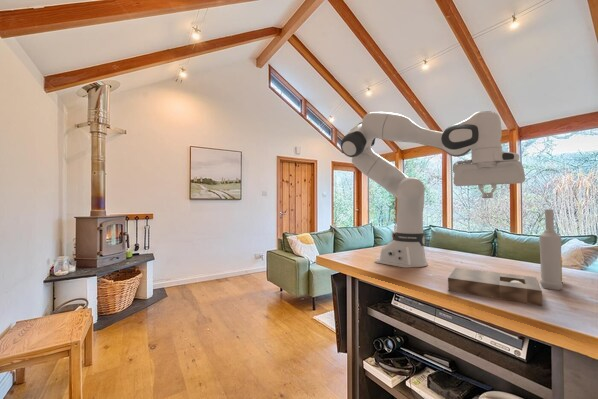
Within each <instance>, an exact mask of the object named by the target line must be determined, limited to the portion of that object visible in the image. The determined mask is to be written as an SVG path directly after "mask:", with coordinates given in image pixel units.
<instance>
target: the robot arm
mask: <svg viewBox="0 0 598 399" xmlns="http://www.w3.org/2000/svg"><path fill="white" fill-rule="evenodd" d="M502 136H503V134H502V122H501V118H500V115H499V114H498V113H496V112H494V111H491V110H482V111H477V112H475V113H473V114H472V115H470V117H468V118H467V119H465V120H462V121H461V122H458V123H455V124H451V125H450V126H447V128H446V129H444V131H437V130H432V129H428V128H424V127H421V126H420V125H418V124H417V123H415V121H413V120H412V119H410V118H409V117H407V116H404V115H402V114H400V113H397V112H396V113H394V112H388V111H387V112H386V111H371V112H367V113H366V114H365V115H364V116H363V118H362V120H361V122H359V123H358V124H356V125H355V126H353V128H351V129H350V130H349V132H348V133H347V134H345V136H343V137H342V140H341V141H340V149H341V151H342V153H343V154H344V155H345V156H346V157H349V158H351V163H352V165H353V166H354V167H355V168H357V169H358V170H359V171H360V172H361V173H362V174H363V175H364V176H366V177H368V178H369V179H371V180H372V181H373V182H375V183H376V184H378V185H379V186H380V187H382V189H384V190H386V191H387V192H388V193H389V194H391V195H392V196H394V197H395V198H396V199H397V203H396V204H397V206H396V207H397V208H396V232H394V233H392V234H391V237H392V240H391V241H390V242H388V243H387V244H385V245H384V246H383V247H382V248H381V250H380V254H379V255H380V256H378V257H377V258H375V261H374V262H375V263H377V264H383V265H388V266H393V267H399V268H405V269H406V268H420V267H426V266H427V267H428V265H429V263H428V261H427V256H426V252H425V242H426V241H425V233H424V205H425V188H426V187H425V185H424V182H423V181H422V180H421V179H419V178H418V177H415V176H408V175H406V174H405V173H403V171H402V170H400V169H399V168H398V167H397V166H396V165H395V164H393V163H392V162H390V161H388V160H387V159H385V158H384V157H382V156H381V155H379V154H378V153H376V152H375V151H374V150H373V149H372V147H373V146H374V145H375V142H376V139H379V140H383V141H388V142H396V143H397V142H398V143H399V142H400V143H412V144H420V145H424V146H427V147H432V148H436V149H440V150H442V151H443V152H445V153H446V154H447V155H449V156H452V157H455V158H456V157H463V156H466V155H467V154H469V153H470V152H471V153H470V154H471V159H469V160H468V159H467V160H458V161H456V162H454V163H453V165H452V172H453V185H454V186H455V187H466V186H467V187H469V186H478V190H479V191H480V192H481V193H482V195H481V196H482V199H493V198H494V192H495V190H496V189H497V185H509V184H510V185H511V184H513V185H515V184H523V183H525V181H526V174H525V173H526V172H525V170H524V166H523V164H522V162H521V161H519V160H520V154H519V153H517V152H510V151H504V150H503V146H502V143H501V142H502ZM488 185H489V186H490V187H491V188H492V189H491V191H490V192H485V191H484V186H488Z"/></svg>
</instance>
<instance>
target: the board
mask: <svg viewBox="0 0 598 399" xmlns="http://www.w3.org/2000/svg"><path fill="white" fill-rule="evenodd" d="M511 281H519V282H521V283H522V284H520V283H513V282H511ZM447 289H448V291H449V292H455V293H460V294H468V295H472V296H473V295H474V296H479V297H484V298H485V297H486V298H491V299H492V298H493V299H497V300H504V301H508V302H515V303H522V304H528V305H534V306H541V307H542V306H543V294H542V292H543V291H542V290H543V289H542V287H541V284H540V283H539V281H538V278H537V276H529V275H521V274H511V273H504V272H503V273H502V272H494V271H488V270H487V271H485V270H479V269H476V270H475V269H469V268H459V267H455V268H454V269H453V270H452V272H451V273H450V275H449V276H448V277H447Z"/></svg>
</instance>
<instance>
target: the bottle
mask: <svg viewBox="0 0 598 399" xmlns="http://www.w3.org/2000/svg"><path fill="white" fill-rule="evenodd" d="M554 214H555V210H554V209H544V216H545V217H544V219H545V222H544V223H545V224H544V225H545V229H544V230H543V231H544V232H542V233H541V234H539V235H538V239H539V240H538V241H539V255H540V257H539V258H540V259H539V260H540V278H541V277H542V279H540V287H541V288H545V289H548V290H557V291H559V290H563V281H562V282H561V263H562V236H561V235H560V234H558V233H557V232H556V230H555V224H554V223H555V222H554V221H555V220H554V216H555V215H554Z"/></svg>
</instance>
